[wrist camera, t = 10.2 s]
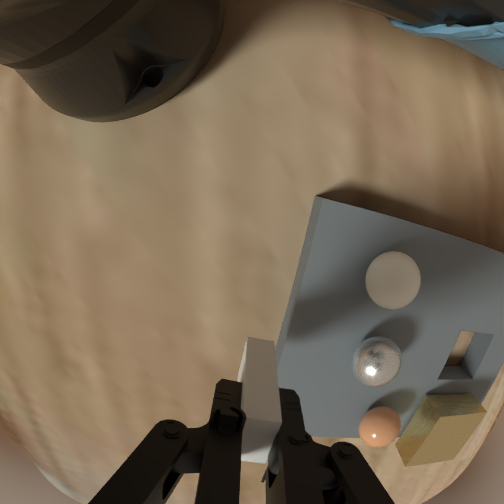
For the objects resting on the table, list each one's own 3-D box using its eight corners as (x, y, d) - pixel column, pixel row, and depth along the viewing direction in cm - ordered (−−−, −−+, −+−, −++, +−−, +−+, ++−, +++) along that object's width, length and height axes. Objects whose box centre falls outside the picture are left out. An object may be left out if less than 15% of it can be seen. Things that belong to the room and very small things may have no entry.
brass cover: (395, 444, 22) (405, 466, 19) (425, 394, 21) (440, 416, 18) (441, 439, 22) (453, 459, 19) (471, 393, 21) (487, 411, 18)
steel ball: (339, 366, 20) (351, 395, 17) (355, 324, 20) (371, 349, 16) (380, 370, 20) (396, 397, 17) (398, 330, 20) (418, 354, 16)
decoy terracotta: (347, 427, 22) (357, 456, 18) (363, 396, 21) (376, 425, 18) (382, 427, 22) (394, 454, 19) (399, 398, 21) (414, 424, 18)
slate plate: (257, 410, 24) (257, 430, 22) (315, 195, 20) (323, 198, 18) (453, 416, 25) (463, 430, 23) (524, 260, 21) (540, 267, 18)
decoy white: (351, 292, 19) (368, 314, 16) (366, 240, 18) (388, 253, 15) (396, 300, 19) (418, 322, 16) (411, 251, 18) (438, 266, 15)
